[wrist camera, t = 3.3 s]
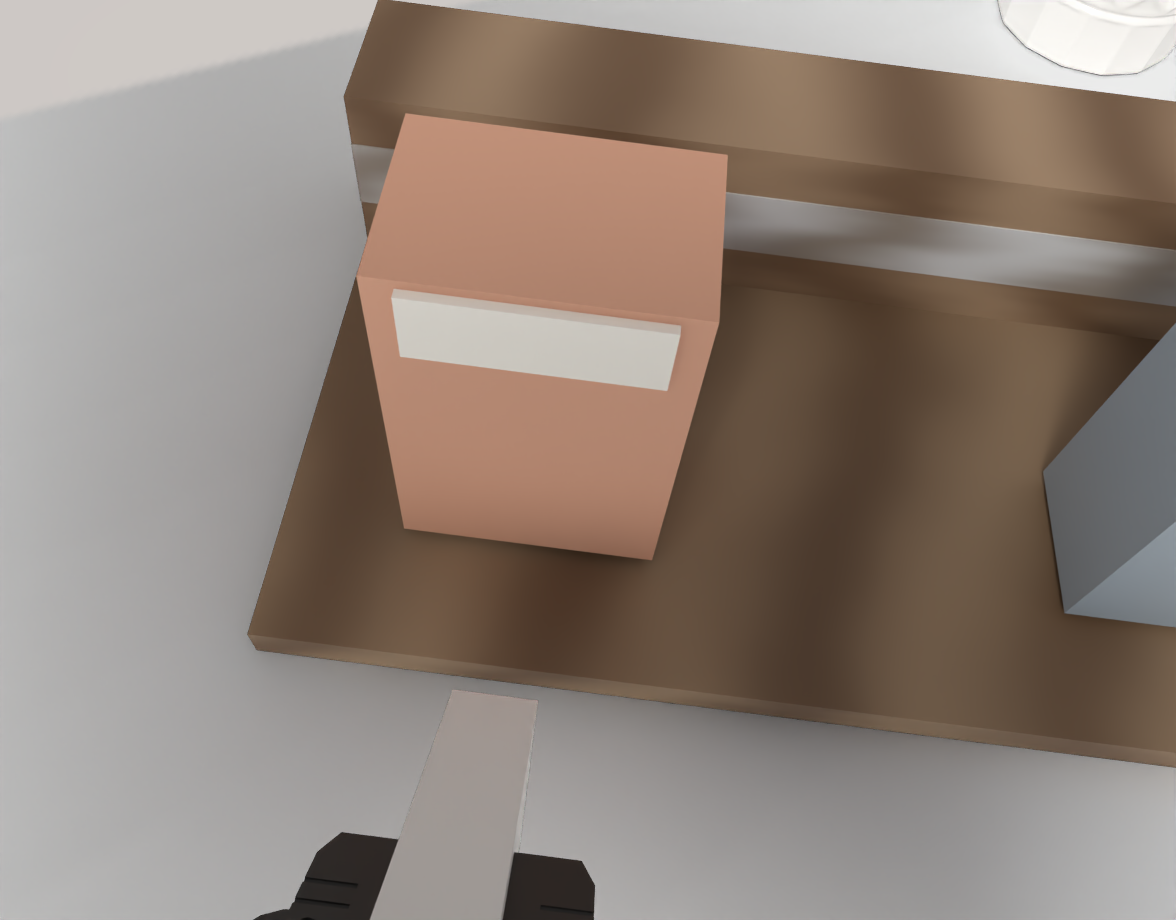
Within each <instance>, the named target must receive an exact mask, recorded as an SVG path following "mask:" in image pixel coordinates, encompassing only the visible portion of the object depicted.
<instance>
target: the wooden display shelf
mask: <svg viewBox="0 0 1176 920" xmlns="http://www.w3.org/2000/svg"><path fill="white" fill-rule="evenodd" d="M344 101H345V107H346V113H347V119H348V125H349V131H350V137H351V143H352V144H351V146H352V152H353V158H354V164H355V170H356V176H357V182H358V188H359V194H360V200H361V202H362V208H363V214H364V220H365V226H366V232H367V238H368V235H369V232H370V229H371V226H372V222H373V219H374V216H375V212H376V209H377V206H378V202H379V199H380V196H381V193H382V189H383V186H384V183H385V179H386V176H387V173H388V170H389V166H390V163H391V160H392V156H393V153H394V150H395V146H396V143H397V140H398V137H399V133H400V130H401V127H402V123H403V120H404V117H405V113H407V114H415V115H423V116H430V117H438V118H446V119H454V120H461V121H469V122H477V123H485V124H492V125H500V126H508V127H516V128H523V129H531V130H539V131H547V132H554V133H562V134H570V135H578V136H585V137H593V138H601V139H609V140H616V141H624V142H632V143H640V144H647V145H655V146H663V147H671V148H678V149H686V150H694V151H702V152H709V153H717V154H725V155H728V161H727V181H726V201H725V220H724V240H723V260H722V280H721V299H720V319H719V325H718V329H717V333H716V336H715V340H714V343H713V347H712V350H711V354H710V357H709V361H708V364H707V368H706V371H705V375H704V378H703V382H702V386H701V389H700V393H699V396H698V400H697V403H696V407H695V410H694V414H693V417H692V421H691V424H690V428H689V431H688V435H687V439H686V442H685V446H684V449H683V453H682V456H681V460H680V463H679V467H678V470H677V474H676V477H675V481H674V484H673V488H672V492H671V495H670V499H669V502H668V506H667V509H666V513H665V516H664V520H663V523H662V527H661V530H660V534H659V537H658V541H657V545H656V548H655V552H654V555H653V559H652V560H646V559H638V558H630V557H622V556H614V555H607V554H599V553H591V552H583V551H575V550H568V549H560V548H552V547H544V546H536V545H529V544H521V543H513V542H505V541H497V540H490V539H482V538H474V537H466V536H458V535H450V534H443V533H435V532H427V531H419V530H411V529H404V525H403V520H402V515H401V509H400V504H399V499H398V493H397V488H396V483H395V478H394V472H393V467H392V462H391V457H390V451H389V446H388V441H387V435H386V430H385V425H384V420H383V414H382V409H381V404H380V399H379V393H378V388H377V383H376V377H375V372H374V367H373V362H372V356H371V351H370V346H369V341H368V335H367V330H366V325H365V319H364V314H363V309H362V304H361V298H360V293H359V288H358V283H357V277H356V278H355V281H354V285H353V288H352V291H351V295H350V298H349V301H348V304H347V308H346V311H345V314H344V318H343V321H342V324H341V327H340V331H339V334H338V337H337V341H336V344H335V347H334V351H333V354H332V357H331V360H330V364H329V367H328V370H327V374H326V377H325V380H324V383H323V387H322V390H321V393H320V397H319V400H318V403H317V407H316V410H315V413H314V416H313V420H312V423H311V426H310V430H309V433H308V436H307V439H306V443H305V446H304V449H303V453H302V456H301V459H300V463H299V466H298V469H297V472H296V476H295V479H294V482H293V486H292V489H291V492H290V495H289V499H288V502H287V505H286V509H285V512H284V515H283V519H282V522H281V525H280V528H279V532H278V535H277V538H276V542H275V545H274V548H273V551H272V555H271V558H270V561H269V565H268V568H267V571H266V575H265V578H264V581H263V584H262V588H261V591H260V594H259V598H258V601H257V604H256V607H255V611H254V614H253V617H252V621H251V624H250V627H249V631H248V634H247V635H248V636H249V638H250V640H251V641H252V643H253V645H254V646H255V648H256V650H260V651H268V652H276V653H283V654H291V655H299V656H307V657H315V658H323V659H330V660H338V661H346V662H354V663H362V664H370V665H377V666H385V667H393V668H401V669H409V670H416V671H424V672H432V673H440V674H448V675H456V676H463V677H471V678H479V679H487V680H495V681H503V682H510V683H518V684H526V685H534V686H542V687H549V688H557V689H565V690H573V691H581V692H589V693H596V694H604V695H612V696H620V697H628V698H636V699H643V700H651V701H659V702H667V703H675V704H682V705H690V706H698V707H706V708H714V709H722V710H729V711H737V712H745V713H753V714H761V715H769V716H776V717H784V718H792V719H800V720H808V721H815V722H823V723H831V724H839V725H847V726H855V727H862V728H870V729H878V730H886V731H894V732H902V733H909V734H917V735H925V736H933V737H941V738H948V739H956V740H964V741H972V742H980V743H988V744H995V745H1003V746H1011V747H1019V748H1027V749H1035V750H1042V751H1050V752H1058V753H1066V754H1074V755H1081V756H1089V757H1097V758H1105V759H1113V760H1121V761H1128V762H1136V763H1144V764H1152V765H1160V766H1168V767H1175V768H1176V627H1169V626H1161V625H1153V624H1145V623H1137V622H1129V621H1122V620H1114V619H1106V618H1098V617H1090V616H1083V615H1075V614H1067V613H1064V606H1063V600H1062V593H1061V586H1060V580H1059V573H1058V567H1057V560H1056V553H1055V547H1054V540H1053V534H1052V527H1051V520H1050V514H1049V507H1048V501H1047V494H1046V487H1045V481H1044V474H1043V471H1044V470H1045V469H1046V468H1047V467H1048V465H1049V464H1050V463H1051V462H1052V461H1053V460H1054V459H1055V458H1056V456H1057V455H1058V454H1059V453H1060V452H1061V451H1062V450H1063V449H1064V447H1065V446H1066V445H1067V444H1068V443H1069V442H1070V441H1071V440H1072V439H1073V437H1074V436H1075V435H1076V434H1077V433H1078V432H1079V431H1080V430H1081V428H1082V427H1083V426H1084V425H1085V424H1086V423H1087V422H1088V421H1089V419H1090V418H1091V417H1092V416H1093V415H1094V414H1095V413H1096V412H1097V411H1098V409H1099V408H1100V407H1101V406H1102V405H1103V404H1104V403H1105V402H1106V400H1107V399H1108V398H1109V397H1110V396H1111V395H1112V394H1113V393H1114V391H1115V390H1116V389H1117V388H1118V387H1119V386H1120V385H1121V384H1122V382H1123V381H1124V380H1125V379H1126V378H1127V377H1128V376H1129V375H1130V374H1131V372H1132V371H1133V370H1134V369H1135V368H1136V367H1137V366H1138V365H1139V363H1140V362H1141V361H1142V360H1143V359H1144V358H1145V357H1146V356H1147V354H1148V353H1149V352H1150V351H1151V350H1152V349H1153V348H1154V347H1155V346H1156V344H1157V343H1158V342H1159V341H1160V340H1161V339H1162V338H1163V337H1164V335H1165V334H1166V333H1167V332H1168V331H1169V330H1170V329H1171V328H1172V326H1173V325H1174V324H1175V323H1176V102H1174V101H1166V100H1158V99H1150V98H1143V97H1135V96H1127V95H1119V94H1112V93H1104V92H1096V91H1089V90H1081V89H1073V88H1065V87H1058V86H1050V85H1042V84H1034V83H1027V82H1019V81H1011V80H1003V79H996V78H988V77H980V76H973V75H965V74H957V73H949V72H942V71H934V70H926V69H918V68H911V67H903V66H895V65H887V64H880V63H872V62H864V61H857V60H849V59H841V58H833V57H826V56H818V55H810V54H802V53H795V52H787V51H779V50H771V49H764V48H756V47H748V46H740V45H733V44H725V43H717V42H710V41H702V40H694V39H686V38H679V37H671V36H663V35H655V34H648V33H640V32H632V31H624V30H617V29H609V28H601V27H594V26H586V25H578V24H570V23H563V22H555V21H547V20H539V19H532V18H524V17H516V16H508V15H501V14H493V13H485V12H478V11H470V10H462V9H454V8H447V7H439V6H431V5H423V4H416V3H407V2H400V1H392V0H378V2H377V4H376V7H375V10H374V13H373V16H372V18H371V21H370V24H369V27H368V30H367V32H366V35H365V38H364V41H363V44H362V47H361V49H360V52H359V55H358V58H357V61H356V63H355V66H354V69H353V72H352V75H351V77H350V80H349V83H348V86H347V89H346V91H345V94H344ZM364 249H365V248H364ZM357 272H358V271H357Z"/></svg>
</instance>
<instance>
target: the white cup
mask: <svg viewBox="0 0 1176 920" xmlns="http://www.w3.org/2000/svg"><path fill="white" fill-rule="evenodd" d="M998 4H999V8H1000V12H1001V16H1002V20H1003V23H1004V24H1005V25H1006V26H1007V27H1008V28H1009V29H1010V31H1011V32H1012V33H1013V34H1014V35H1015V36H1016V37H1017V38H1018V39H1019V40H1020V41H1021V42H1022V43H1023V44H1024V45H1025V46H1026V47H1027V48H1029V49H1031V50H1033V51H1034V52H1036V53H1038V54H1040V55H1042V56H1044V57H1045V58H1047V59H1049V60H1051V61H1053V62H1055V63H1057V64H1059V65H1061V66H1064V67H1068V68H1072V69H1076V70H1080V71H1085V72H1089V73H1094V74H1098V75H1116V74H1132V73H1139V72H1141V71H1143V70H1145V69H1147V68H1149V67H1151V66H1152V65H1154V64H1156V63H1158V62H1160V61H1162V60H1163V59H1165V58H1166V57H1167V55H1168V54H1169V53H1170V51H1171V50H1172V48H1173V47H1174V46H1175V44H1176V0H998Z"/></svg>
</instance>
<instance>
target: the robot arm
mask: <svg viewBox="0 0 1176 920" xmlns="http://www.w3.org/2000/svg"><path fill="white" fill-rule="evenodd" d="M537 706H538V700H531V699H523V698H515V697H508V696H500V695H492V694H485V693H477V692H469V691H461V690H454V689H452V692H451V695H450V698H449V700H448V703H447V706H446V709H445V712H444V714H443V717H442V720H441V723H440V726H439V728H438V731H437V734H436V737H435V739H434V742H433V745H432V748H431V751H430V753H429V756H428V759H427V762H426V764H425V767H424V770H423V773H422V776H421V778H420V781H419V784H418V787H417V790H416V792H415V795H414V798H413V801H412V803H411V806H410V809H409V812H408V815H407V817H406V820H405V823H404V826H403V829H402V831H401V834H400V837H399V840H397V839H390V838H382V837H374V836H367V835H359V834H351V833H344V832H341V833H340V834H339V835H338V836H336V837H335V838H334V839H333V840H331V841H330V842H329V843H328V844H326V845H325V846H324V847H323V848H322V849H320V850H319V851H318V852H317V853H316V855H315V858H314V860H313V862H312V864H311V866H310V868H309V870H308V872H307V874H306V876H305V881H304V882H302V885H301V887H300V889H299V891H298V893H297V895H296V897H295V902H293V903H292V905H291V907H290V909H283V910H279V911H276V912H272V913H268V914H264V915H261V916H259V917H257V918H256V919H254V920H594V917H593V915H594V897H595V885H594V883H593V881H592V879H591V877H590V876H589V874H588V872H587V870H586V868H585V866H584V864H583V863H582V861H578V860H571V859H563V858H555V857H548V856H540V855H532V854H524V853H519V848H520V841H521V834H522V826H523V818H524V810H525V802H526V794H527V786H528V778H529V770H530V762H531V754H532V746H533V738H534V730H535V722H536V714H537Z"/></svg>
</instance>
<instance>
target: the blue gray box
mask: <svg viewBox="0 0 1176 920" xmlns="http://www.w3.org/2000/svg"><path fill="white" fill-rule="evenodd" d="M1043 474H1044V481H1045V487H1046V494H1047V501H1048V507H1049V514H1050V520H1051V527H1052V534H1053V540H1054V547H1055V553H1056V560H1057V567H1058V573H1059V580H1060V586H1061V593H1062V600H1063V606H1064V613H1067V614H1075V615H1083V616H1090V617H1098V618H1106V619H1114V620H1122V621H1129V622H1137V623H1145V624H1153V625H1161V626H1169V627H1176V323H1175V324H1174V325H1173V326H1172V328H1171V329H1170V330H1169V331H1168V332H1167V333H1166V334H1165V335H1164V337H1163V338H1162V339H1161V340H1160V341H1159V342H1158V343H1157V344H1156V346H1155V347H1154V348H1153V349H1152V350H1151V351H1150V352H1149V353H1148V354H1147V356H1146V357H1145V358H1144V359H1143V360H1142V361H1141V362H1140V363H1139V365H1138V366H1137V367H1136V368H1135V369H1134V370H1133V371H1132V372H1131V374H1130V375H1129V376H1128V377H1127V378H1126V379H1125V380H1124V381H1123V382H1122V384H1121V385H1120V386H1119V387H1118V388H1117V389H1116V390H1115V391H1114V393H1113V394H1112V395H1111V396H1110V397H1109V398H1108V399H1107V400H1106V402H1105V403H1104V404H1103V405H1102V406H1101V407H1100V408H1099V409H1098V411H1097V412H1096V413H1095V414H1094V415H1093V416H1092V417H1091V418H1090V419H1089V421H1088V422H1087V423H1086V424H1085V425H1084V426H1083V427H1082V428H1081V430H1080V431H1079V432H1078V433H1077V434H1076V435H1075V436H1074V437H1073V439H1072V440H1071V441H1070V442H1069V443H1068V444H1067V445H1066V446H1065V447H1064V449H1063V450H1062V451H1061V452H1060V453H1059V454H1058V455H1057V456H1056V458H1055V459H1054V460H1053V461H1052V462H1051V463H1050V464H1049V465H1048V467H1047V468H1046V469H1045V470H1044V471H1043Z"/></svg>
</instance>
